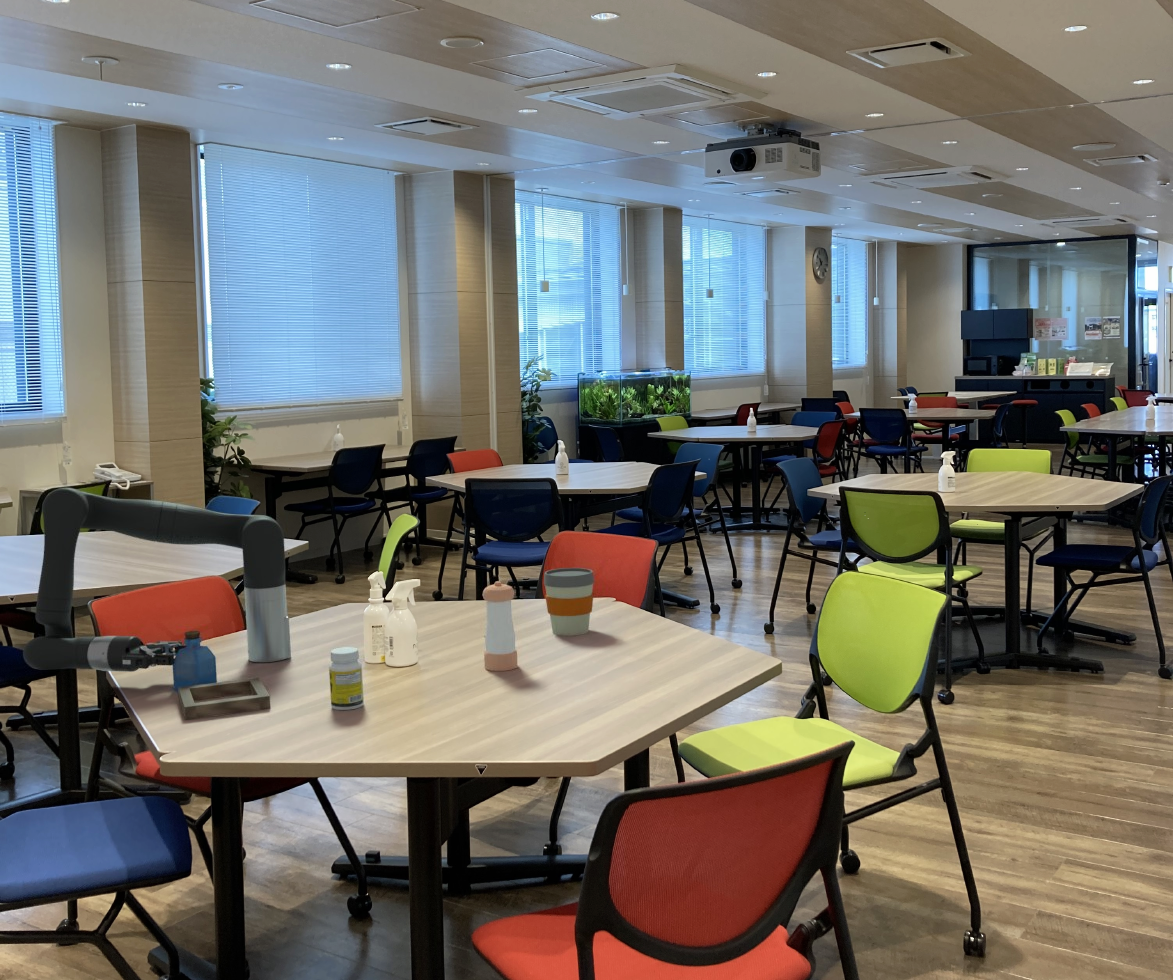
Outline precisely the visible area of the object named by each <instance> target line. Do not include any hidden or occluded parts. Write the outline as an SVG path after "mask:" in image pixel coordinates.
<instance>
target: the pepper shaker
mask: <svg viewBox="0 0 1173 980" xmlns="http://www.w3.org/2000/svg"><path fill="white" fill-rule="evenodd" d="M482 597H483V600H485V601H486V602H485V603H486V605H485V606H486V624H485V625H486V627H485V635H484V644H485V645H484V646H485V650H484V654H483V656H484V658H483V659H484V660H483V661H484V669H485V670H487V671H491V672H503V671H505V672H506V671H512V670H515V669H516V668H518V666H519V665H518V650H517V649H516V633H515V627H514V624H513V623H514V622H513V616H512V615H513V614H512V613H513V611H512V600H513V599H514V598H515V590H514V588H513V587H512V586H511V585H509V584H505V583H504V584H503V583H502V582H501V581H500V580H499V581H498V580H497V581H495V582H494V584H490V585H488V586H486V587H485V588H484V589H483V591H482Z"/></svg>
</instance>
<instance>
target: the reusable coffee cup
mask: <svg viewBox="0 0 1173 980" xmlns="http://www.w3.org/2000/svg"><path fill="white" fill-rule="evenodd" d="M543 575H544V577H543V585H544V586H545V591H546V592H545V593H546V594H545V595H544V597H545V602H546V607H547V608H546V609H547V613H548V615H549V618H550V624H551V629H552V631H551V632H552V633H553V634H555V635H559V636H580V635H583V634H587V633H588V632H589V628H590V627H589V626H590V617H591V613H592V611H593V602H594V592H593V586H594V584H595V578H594V571H593V570H592V569H590V568H582V567H562V568H561V567H560V568H556V569H549V570H547V571H545V572H544V574H543Z"/></svg>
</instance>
